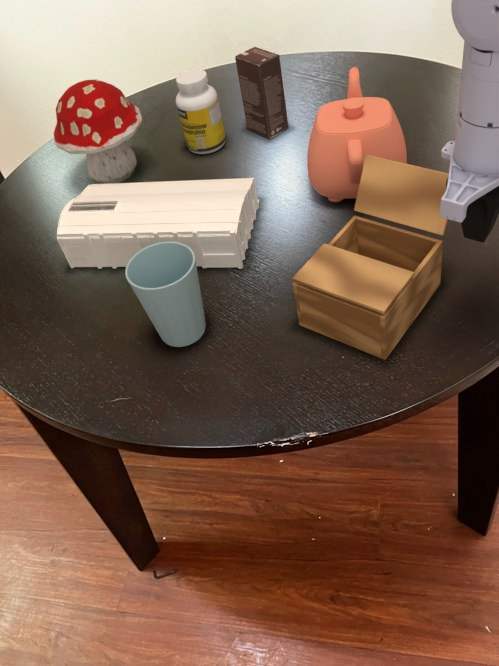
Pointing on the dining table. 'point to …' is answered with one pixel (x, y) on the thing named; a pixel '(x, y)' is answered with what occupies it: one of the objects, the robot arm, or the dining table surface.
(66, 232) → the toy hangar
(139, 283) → the cup
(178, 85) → the pill bottle
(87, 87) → the decorative mushroom
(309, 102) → the dining table surface
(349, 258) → the wooden box
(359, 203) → the flap
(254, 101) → the box
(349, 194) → the teapot
